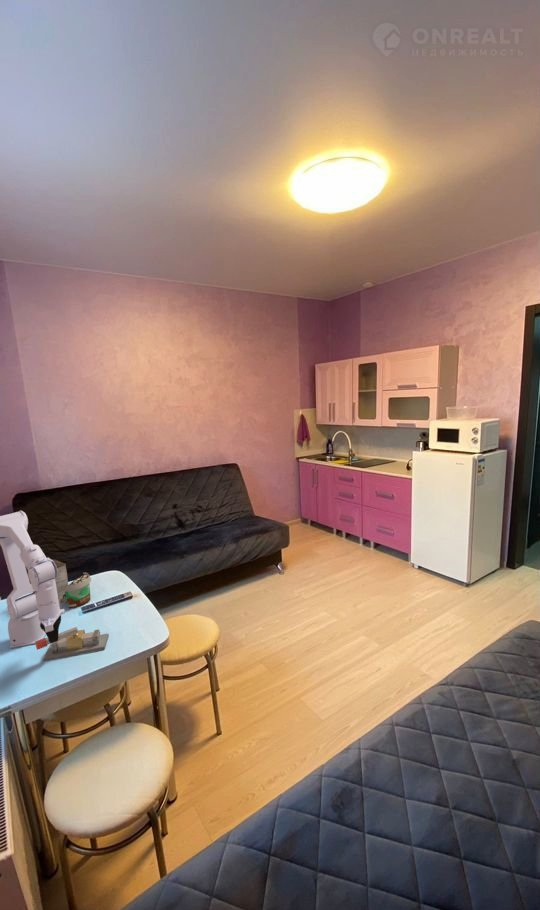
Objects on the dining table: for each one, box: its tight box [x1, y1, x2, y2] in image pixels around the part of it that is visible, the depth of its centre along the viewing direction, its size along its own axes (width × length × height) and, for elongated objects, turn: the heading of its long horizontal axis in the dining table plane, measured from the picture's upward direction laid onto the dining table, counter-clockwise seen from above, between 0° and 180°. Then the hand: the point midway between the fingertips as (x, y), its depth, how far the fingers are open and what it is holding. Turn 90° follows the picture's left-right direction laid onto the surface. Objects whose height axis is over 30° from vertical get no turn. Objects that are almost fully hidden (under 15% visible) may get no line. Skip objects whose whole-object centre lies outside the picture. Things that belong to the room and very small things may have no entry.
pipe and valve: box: [51, 629, 101, 653], centre depth 124 cm, size 14×4×4 cm, turn 103°
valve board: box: [42, 633, 110, 662], centre depth 125 cm, size 18×7×1 cm, turn 103°
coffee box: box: [52, 558, 69, 606], centre depth 155 cm, size 9×6×16 cm
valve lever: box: [35, 626, 79, 650], centre depth 121 cm, size 12×2×2 cm, turn 129°
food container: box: [63, 572, 92, 609], centre depth 153 cm, size 12×6×10 cm, turn 168°
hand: (54, 641), depth 119 cm, fingers closed, pressing on valve lever
